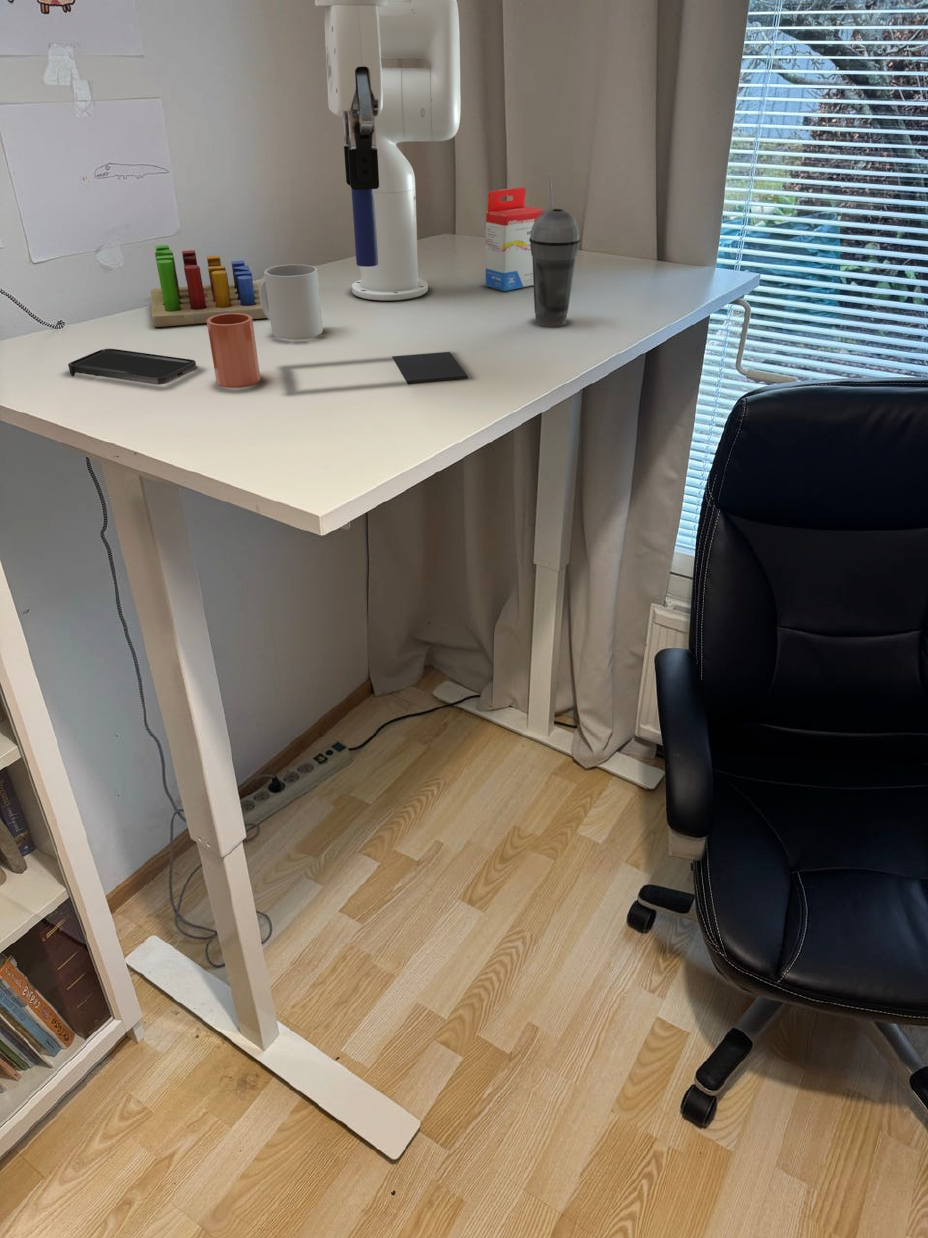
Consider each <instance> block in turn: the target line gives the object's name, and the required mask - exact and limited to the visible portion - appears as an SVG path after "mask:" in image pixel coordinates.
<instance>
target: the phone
mask: <svg viewBox="0 0 928 1238" xmlns="http://www.w3.org/2000/svg"><path fill="white" fill-rule="evenodd" d="M67 366H68V370H69V373H70V375H73V376H75V375H76V373H78V374H85V375H90V376H91V375H92V376H98V377H105V378H112V379H119V380H125V381H132V382H138V383H144V384H151V385H164V384H167V383H169V382H172V381H173V380H175V379H177V378H179V377H182V376H184V375H186V374H187V373H190V372H191V371H193V370H195V369H196V368H197V362H196V360H194V359H191V358H182V357H175V356H167V355H160V354H154V353H147V352H141V351H140V352H138V351H132V350H126V349H125V350H124V349H118V348H102V349H100V350H96V351H94V352H91V353H90V354H88V355H87V354H86V355H85V356H82V357H80V358H77V359H76V360H73V361H71V362H68V364H67Z"/></svg>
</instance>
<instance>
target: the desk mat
mask: <svg viewBox="0 0 928 1238" xmlns="http://www.w3.org/2000/svg"><path fill="white" fill-rule="evenodd" d="M391 358H392V360H393V361H394V363H395V365H396V367H397V369H398V370H399V372H400V373H401V376H402V377H403V379H404V381H405V382H406V384H407V385H408V384H409V385H410V384H419V383H430V382H431V383H433V382H442V381H443V382H444V381H453V380H466V379H468V377H469V376H468V373H466V372H465V370H464V369H463V368H462V366H461V365H460V363H459V362H458V361H457V359H456V358H455V357H454V355H453V354H452V353H451V351H443V352H441V351H440V352H429V353H417V354H406V355H405V354H404V355H393V356H392V355H391Z"/></svg>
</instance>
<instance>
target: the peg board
mask: <svg viewBox="0 0 928 1238" xmlns="http://www.w3.org/2000/svg"><path fill="white" fill-rule="evenodd" d="M181 254H182V255H181V257H182V262H183V270H184V276H185V281H186V286H179V280H178V274H177V268H176V261H175V256H174V253H173V251H172V249H170V246H169V244H163V245H161V244H160V245H156V246H155V252H154V257H155V261H156V267H157V274H158V277H159V284H160V288H153V289H151V290H150V300H151V301H150V302H151V303H150V305H151V318H152V324H153V326H154V327H156V328H161V327H172V326H185V325H197V324H207V319H208V318H210V317H212V316H215V315H219V314H225V313H243V314H248V315H250V316H252V320H257V319H268V318H267V317H266V315H265V314H264V311H263V309H262V306H261V302H260V296H259V286H260V282H261V281H254V280H253V274H252V271H250V266H249V265H246V264H245V261H244V260H232V261H230V262H231V269H232V276H233V283H229V277H228V272H227V268H226V266H225V265H222V261H221V256H220V255H207V256H206V261H207V270H208V277H209V284H205V285H203V280H202V273H201V268H200V265H198V261H197V255H196V250H195V249H194V250H192V249H190V250H182V251H181Z"/></svg>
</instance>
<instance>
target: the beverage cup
mask: <svg viewBox="0 0 928 1238" xmlns="http://www.w3.org/2000/svg"><path fill="white" fill-rule="evenodd" d="M547 191H548V207H549V208H548V209H546V210H545V211H543V213H542V214H541V215H540V216H538V218H537V219H536V220H535V222H534V224H533V227H532V230H531V236H530V239H529V242H530V247H531V254H532V258H533V282H534V285H533V304H534V306H533V307H534V317H535V325H537V326H540V327H545V328H558V327H562V326H565V325H566V324H567V317H568V313H569V307H570V299H571V293H572V287H573V286H572V285H573V278H574V271H575V265H576V258H577V256H578V252H579V248H580V243H581V238H580V237H581V236H580V229H579V225H578V222H577V220H576V218H575V217H574V215H572V214H571V213H570V212H569V211H567V210H565V209H563V208H554V199H553V182H552V173H551V172H549V173H547Z"/></svg>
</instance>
